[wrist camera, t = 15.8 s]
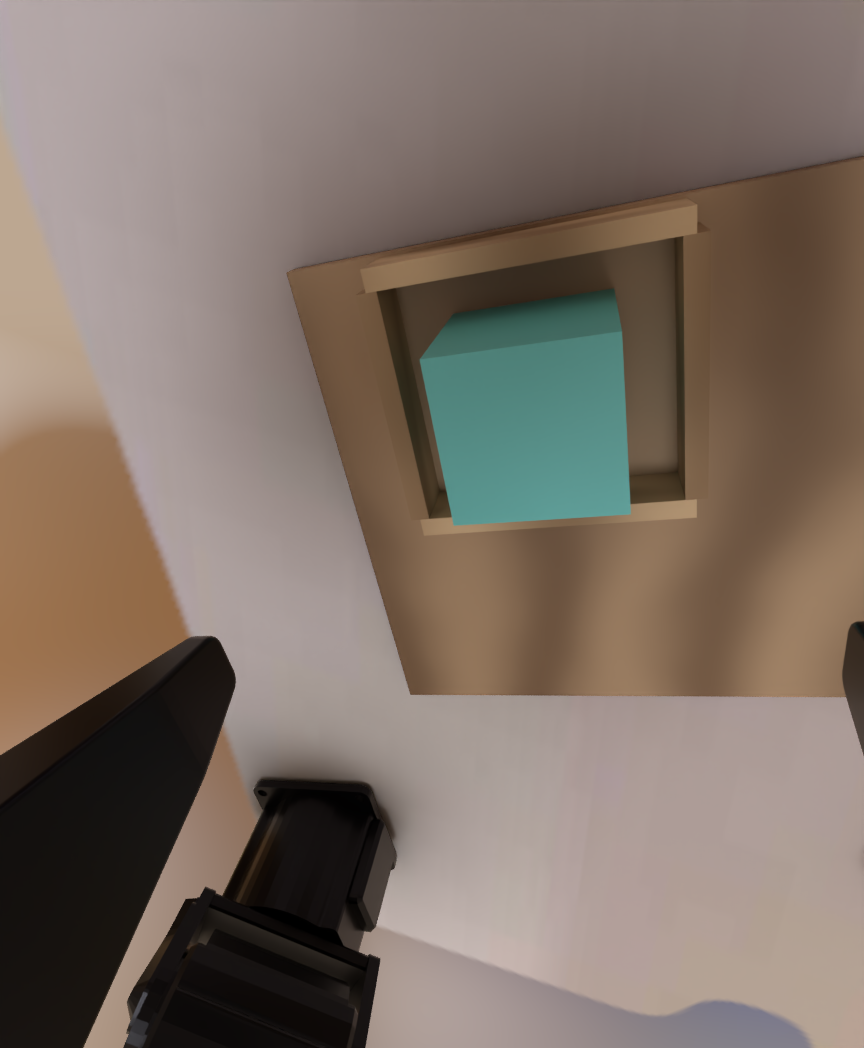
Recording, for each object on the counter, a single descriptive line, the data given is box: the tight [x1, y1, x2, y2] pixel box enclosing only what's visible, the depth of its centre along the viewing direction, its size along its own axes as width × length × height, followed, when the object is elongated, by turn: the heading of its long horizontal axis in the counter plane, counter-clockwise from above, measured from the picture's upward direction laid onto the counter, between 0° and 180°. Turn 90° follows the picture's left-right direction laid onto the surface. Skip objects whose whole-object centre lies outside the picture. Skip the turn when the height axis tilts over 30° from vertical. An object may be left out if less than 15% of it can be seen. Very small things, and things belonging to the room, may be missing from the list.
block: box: [420, 288, 631, 526], centre depth 17 cm, size 4×4×4 cm
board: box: [287, 156, 864, 697], centre depth 19 cm, size 26×17×2 cm, turn 102°
